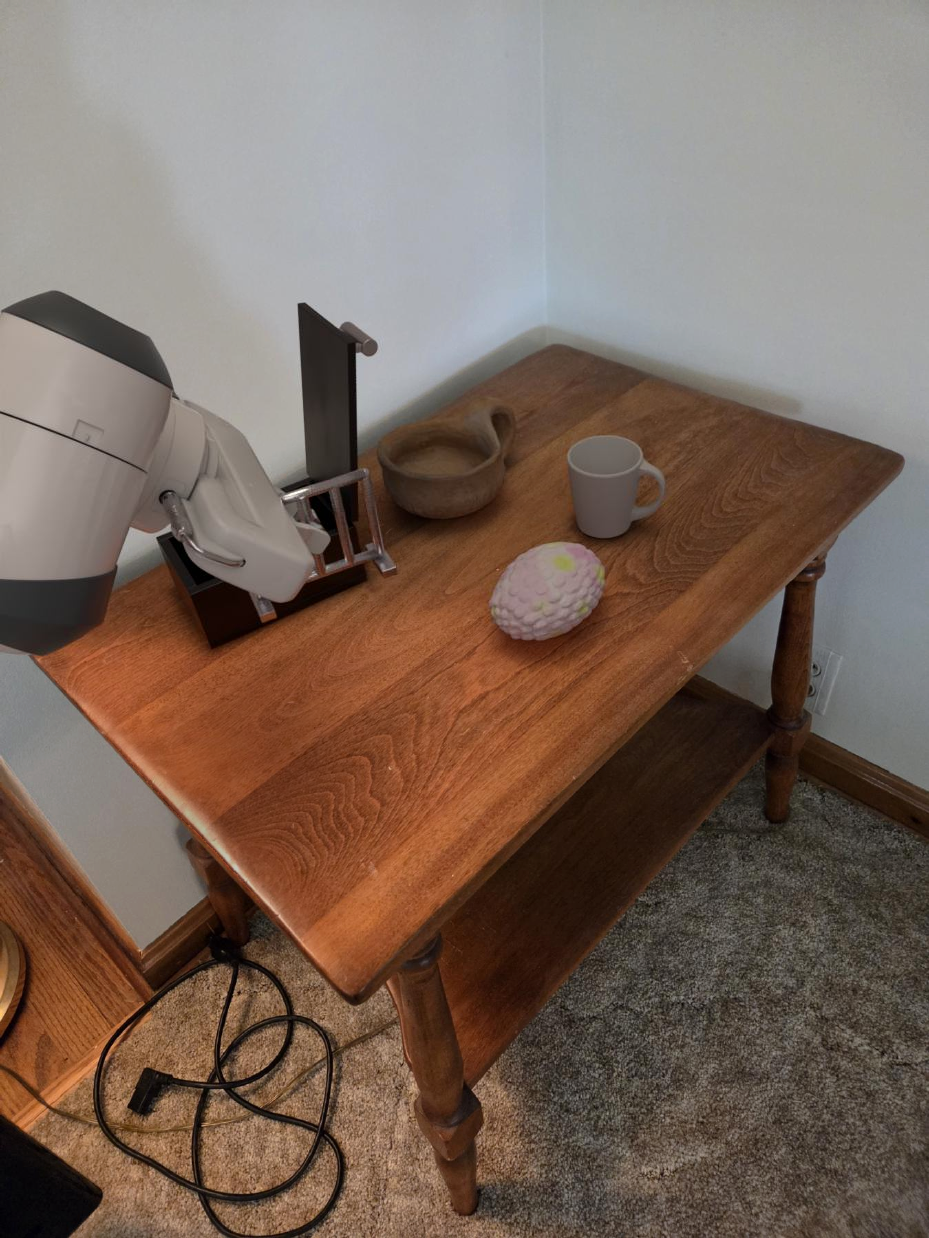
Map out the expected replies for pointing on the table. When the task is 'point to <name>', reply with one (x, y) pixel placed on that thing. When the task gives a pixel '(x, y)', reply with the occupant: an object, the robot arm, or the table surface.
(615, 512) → the cup
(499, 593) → the decorative item
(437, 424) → the bowl
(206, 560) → the robot arm
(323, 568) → the rack
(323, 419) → the oven door
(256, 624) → the oven
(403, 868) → the table surface
